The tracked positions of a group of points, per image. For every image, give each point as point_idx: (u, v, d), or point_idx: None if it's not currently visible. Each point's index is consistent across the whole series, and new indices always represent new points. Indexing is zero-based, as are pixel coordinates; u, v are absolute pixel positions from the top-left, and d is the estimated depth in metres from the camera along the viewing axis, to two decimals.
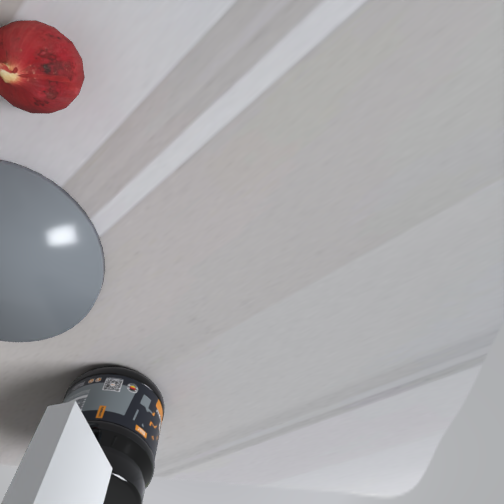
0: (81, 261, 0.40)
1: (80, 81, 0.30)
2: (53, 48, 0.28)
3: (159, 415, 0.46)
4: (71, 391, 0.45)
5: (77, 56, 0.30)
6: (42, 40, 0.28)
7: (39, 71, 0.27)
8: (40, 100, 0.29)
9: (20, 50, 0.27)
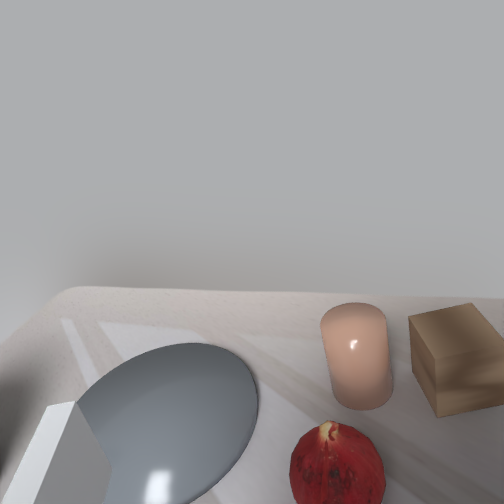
0: (121, 491, 0.33)
1: None
2: (357, 489, 0.25)
3: None
4: None
5: None
6: (363, 478, 0.25)
7: (331, 464, 0.25)
8: (301, 462, 0.26)
9: (351, 450, 0.26)
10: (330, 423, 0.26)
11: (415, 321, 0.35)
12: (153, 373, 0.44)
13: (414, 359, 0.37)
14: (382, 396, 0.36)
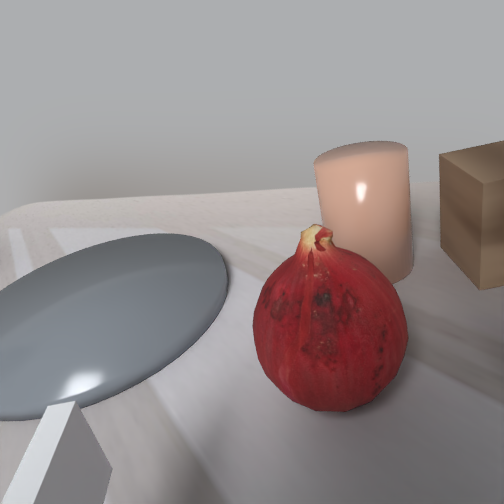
0: (19, 380, 0.23)
1: (301, 381, 0.15)
2: (361, 327, 0.14)
3: None
4: None
5: (348, 385, 0.15)
6: (372, 311, 0.15)
7: (317, 285, 0.15)
8: (270, 293, 0.16)
9: (353, 268, 0.15)
10: (319, 226, 0.16)
11: (450, 156, 0.24)
12: (98, 262, 0.34)
13: (445, 222, 0.26)
14: (400, 267, 0.25)
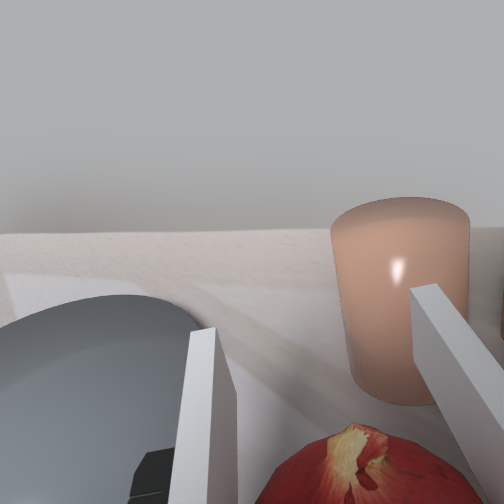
0: None
1: None
2: None
3: None
4: None
5: None
6: None
7: None
8: None
9: None
10: (362, 433, 0.08)
11: None
12: (47, 338, 0.26)
13: None
14: None
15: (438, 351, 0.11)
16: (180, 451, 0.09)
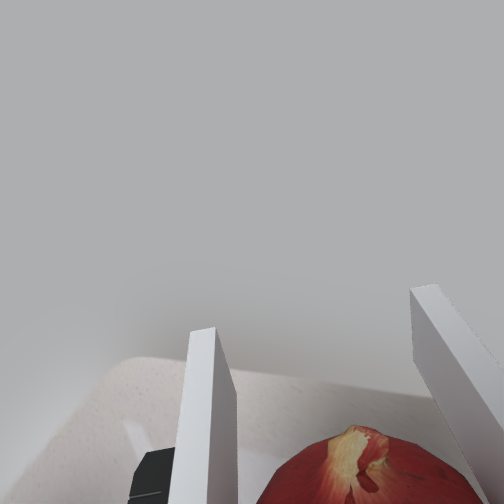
0: None
1: None
2: None
3: None
4: None
5: None
6: None
7: None
8: None
9: None
10: (363, 434, 0.08)
11: None
12: None
13: None
14: None
15: (438, 351, 0.11)
16: (180, 451, 0.09)
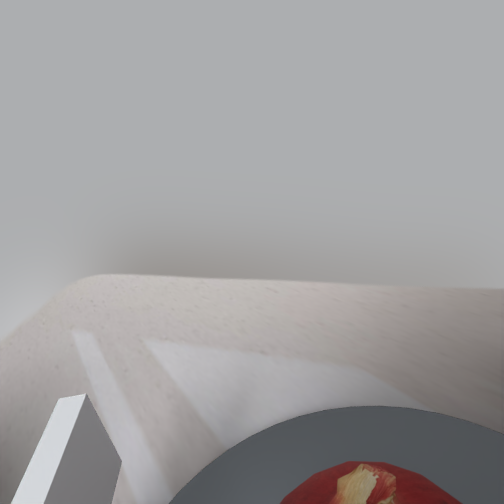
0: None
1: None
2: None
3: None
4: None
5: None
6: None
7: None
8: None
9: None
10: (372, 474, 0.08)
11: None
12: None
13: None
14: None
15: None
16: None
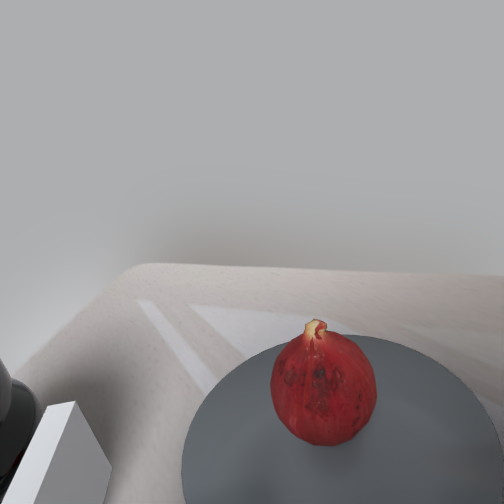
0: None
1: (304, 427, 0.22)
2: (344, 392, 0.22)
3: None
4: None
5: (336, 430, 0.22)
6: (352, 381, 0.22)
7: (316, 363, 0.22)
8: (284, 365, 0.23)
9: (340, 351, 0.23)
10: (317, 321, 0.23)
11: None
12: None
13: None
14: None
15: None
16: None
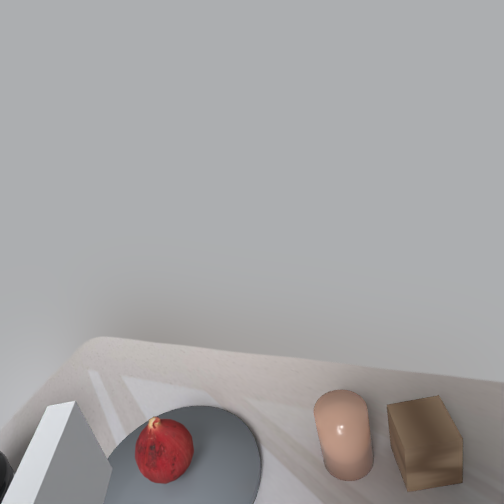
0: None
1: (146, 475, 0.43)
2: (165, 457, 0.42)
3: None
4: None
5: (162, 476, 0.43)
6: (170, 451, 0.43)
7: (151, 442, 0.43)
8: (138, 441, 0.44)
9: (166, 434, 0.43)
10: (155, 418, 0.44)
11: (392, 410, 0.42)
12: None
13: (391, 438, 0.44)
14: (364, 470, 0.43)
15: None
16: None
